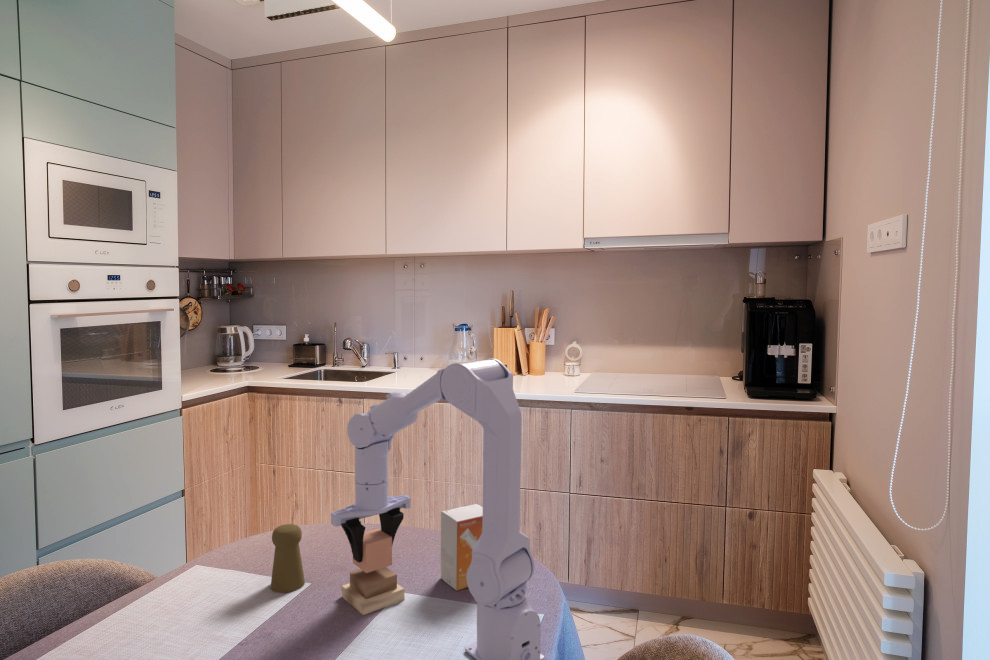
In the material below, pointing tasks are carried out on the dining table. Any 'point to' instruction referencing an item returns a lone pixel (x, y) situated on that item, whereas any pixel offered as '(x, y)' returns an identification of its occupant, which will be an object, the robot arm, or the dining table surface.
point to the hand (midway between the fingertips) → (372, 555)
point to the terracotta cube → (375, 551)
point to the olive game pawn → (287, 559)
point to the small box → (459, 542)
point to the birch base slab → (371, 599)
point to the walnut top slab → (373, 582)
